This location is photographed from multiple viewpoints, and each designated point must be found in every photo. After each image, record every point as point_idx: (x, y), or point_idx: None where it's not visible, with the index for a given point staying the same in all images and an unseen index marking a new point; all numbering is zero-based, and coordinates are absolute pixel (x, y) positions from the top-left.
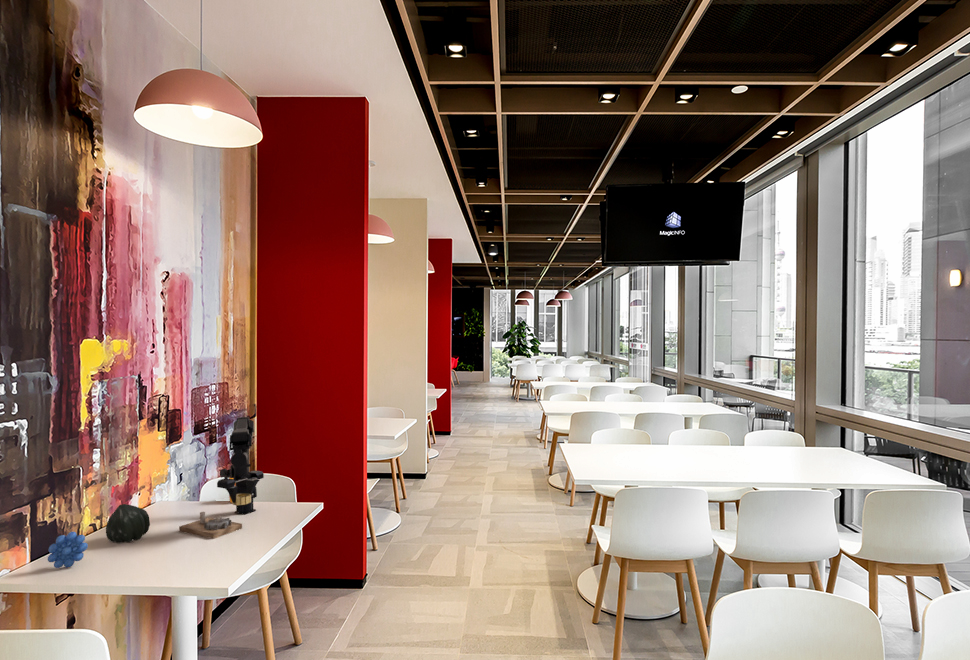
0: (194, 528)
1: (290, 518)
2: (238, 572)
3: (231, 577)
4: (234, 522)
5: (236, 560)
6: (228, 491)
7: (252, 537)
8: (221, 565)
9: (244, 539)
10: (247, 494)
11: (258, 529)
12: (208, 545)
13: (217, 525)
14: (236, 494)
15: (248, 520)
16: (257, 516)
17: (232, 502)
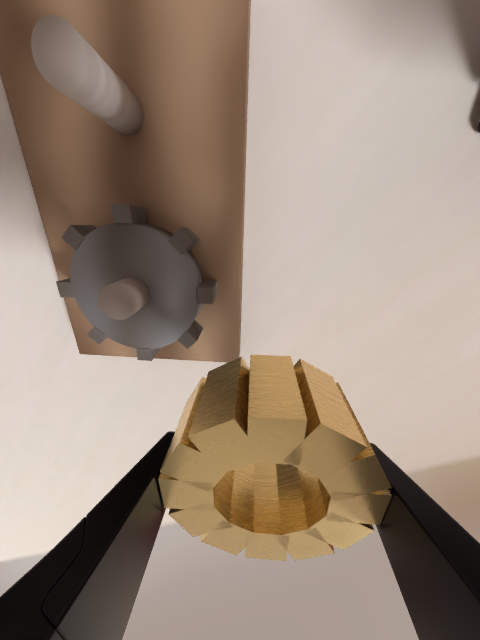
0: (43, 171)
1: (421, 431)
2: (36, 546)
3: (17, 548)
4: (236, 313)
5: (61, 513)
6: (7, 609)
7: None
8: (23, 506)
9: None
10: (325, 530)
11: None
12: (52, 382)
13: (106, 337)
14: (137, 587)
15: (358, 276)
16: (441, 264)
17: (189, 403)
